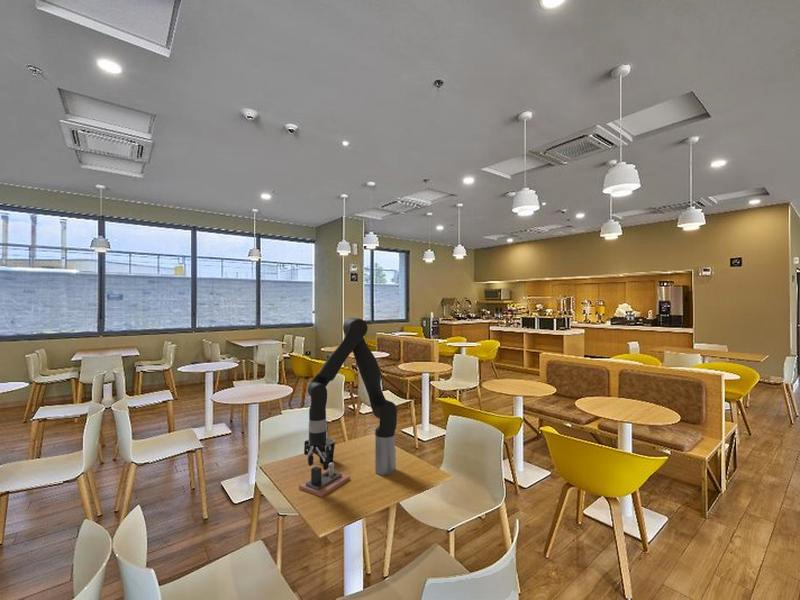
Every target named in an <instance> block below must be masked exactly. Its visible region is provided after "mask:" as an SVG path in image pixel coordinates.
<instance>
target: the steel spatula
mask: <svg viewBox="0 0 800 600" xmlns="http://www.w3.org/2000/svg"><path fill="white" fill-rule="evenodd" d="M310 472H311V473H310V475H311V477H310V479H311V481H309V482H307V483H306V486H307V487H310V488H313V489H316V490H320V489H322V488H323V487H325V486H327V485H329V484H330V483H332V482H334V481H335V480H337V479H339V478H340V477H342V474H343V473H342V472H338V473H337V471H334V476H333V477H332V478H328V477H327V476H328V475H329V471H327V472H325V471H324V472H325V473H323V472H322V467H318V466H315V467H312V468H311V471H310ZM321 473H323V474H321Z"/></svg>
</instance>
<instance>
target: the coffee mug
mask: <svg viewBox="0 0 800 600" xmlns="http://www.w3.org/2000/svg"><path fill="white" fill-rule="evenodd" d="M326 445H332V457H333V458H332V459H331V460H329V463H331V462H332V463H334V454H335V445H336V440H335V439H334V438H328V437H327V439H326ZM310 449H311V446H310ZM322 454H324V452H323V453H322ZM314 455H316V456H318V459H319V463H320V464H321V465H323V459H322V457H320V455H319V454H317V453H314ZM324 456H325V455H324ZM329 457H330V455H329ZM325 458H326V457H325Z"/></svg>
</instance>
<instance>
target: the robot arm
mask: <svg viewBox="0 0 800 600" xmlns="http://www.w3.org/2000/svg"><path fill="white" fill-rule="evenodd" d="M342 331H343V334H344V336H345V337H344V338H343V340H342V342H340V344H339V346H337V348H336V349H335V350H334V351H332V352H331V354H330V355H329V356H328V357H327V359H326V360H325V362H324V363H323V365H322V367H321V369H320V370H319V372H318V373H317V374H316V376H315V377H314V378H313V379H312V380H311V382H310V383H309V384H308V387H307V393H308V395H309V396H310V406H309V409H308V410H309V411H308V412H309V413H308V416H309V418H308V439H306V440H305V441H304V445H303V447H304V449H303V450H304V451H303V453H304V455H305V456H306V457H307V463H308V466H310V467H311V466H313V465H314V455H315V453H317V454H318V455H320V457H322V459H323V464H322V467H323V471H326V470H329V460H331V459H332V458H333V459H334V456H333V457H332V445H326V439H327V438H328V435H327V434H328V431H327V429H328V428H327V427H328V426H327V425H328V423H327V404H328V403H327V402H328V389H327V386H328V384H329V383H330V382H331V381H334V379H335V378H336V376H337V375H338V373H339V372H340V369H341V368H342V366H343V365H344V363H345V362H346V360H347V359H348V357H349V356H350V355H351V353H353V356H354V360H355V363H356V366H357V369H358V371H359V374H360V377H361V380H362V383H363V384H364V387H365V390H366V392H367V395H368V399H369V404H370V408H371V411H372V414H373V415H374V416H375V418H377V419H379V426H377V427H376V428H375V429H374V433H375V434H374V445H375V447H374V448H375V449H374V450H375V451H374V457H375V459H374V461H375V462H374V465H375V466H374V467H375V468H374V469H375V473H376V474H377V475H378V476H379V475H380V476H390V475H393V474H394V473H395V471H396V469H397V468H396V461H397V460H396V459H397V458H396V457H397V456H396V455H397V454H396V447H395V446H396V445H395V444H396V443H395V442H396V437H395V435H396V430H397V422H398V421H397V420H398V410H397V409H398V408H397V405H396V404H395V403H394V402H393V401H390V400H388V399H386V397H385V395H384V392H383V390H382V372H381V369H380V366H379V364H378V361H377V359H376V357H375V355H374V354H373V352H372V350H371V349H370V347H369V345H367V342H366V340H365V336H366V335H367V333H368V324H367V322H366V321H365V320H364V319H362V318H359V317H358V318H357V317H349V318H347V319H346V320H345V321H344V322H343V326H342ZM310 447H311V449H310ZM323 452H324V454H322V453H323ZM324 455H325V456H324ZM329 455H330V457H329ZM325 457H326V458H325Z"/></svg>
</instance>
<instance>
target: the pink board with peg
mask: <svg viewBox="0 0 800 600" xmlns="http://www.w3.org/2000/svg"><path fill="white" fill-rule="evenodd" d="M327 471H329V475H328V476H327V477H328V478H332V477H333V476H334V472H335V463H334V462H331V463H329V467H328V469H327V470H324V471H323V472H321V474H323V473H325V472H327ZM336 472H337V471H336ZM337 473H339V472H337ZM341 474H342V477H340V478H339V479H337V480H335V481H334V482H332V483H330V484H329V485H327V486H325V487H323V488H322V489H320V490H316V489H313V488H310V487H307V486H306V483H307V482H309V481H311V478H310V479H308V480H306V481H305V482H302V483H301V484H299V485H298V490H300V491H304V492H307V493H308V494H309V493H310V494H312V495H315V496H317V497H321V498H323V497H324V496H325V495H328V493H330V492H332V491H334V490H335V489H337V488H338V487H340V486H341V485H343V484H344V483H346V482H348V481H350V480H351V475H348V474H344V473H341Z"/></svg>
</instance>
